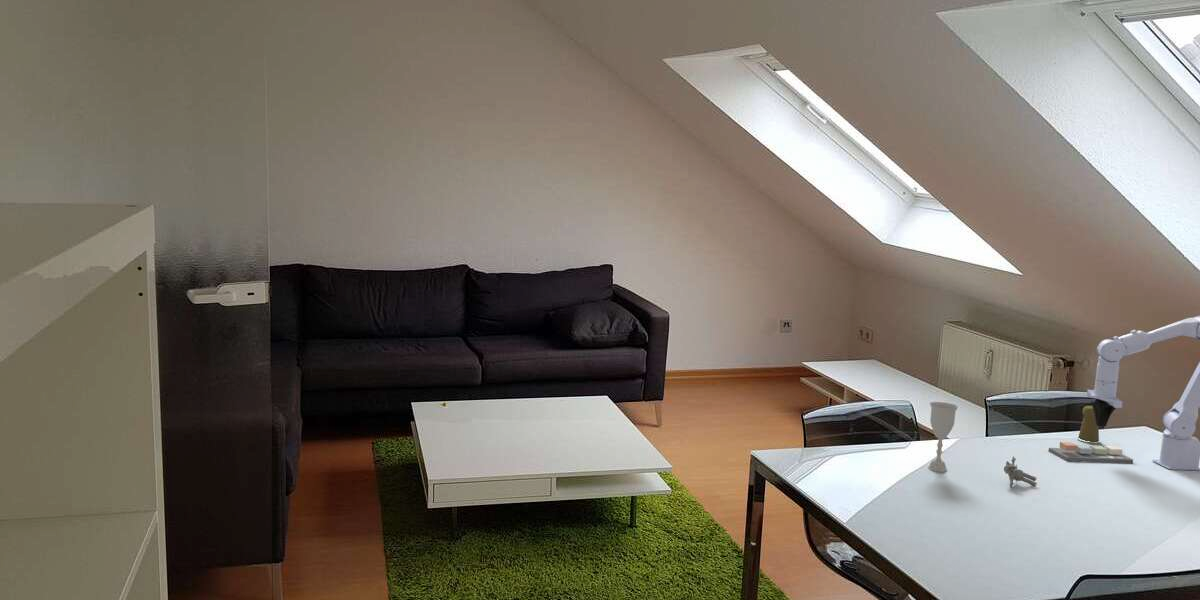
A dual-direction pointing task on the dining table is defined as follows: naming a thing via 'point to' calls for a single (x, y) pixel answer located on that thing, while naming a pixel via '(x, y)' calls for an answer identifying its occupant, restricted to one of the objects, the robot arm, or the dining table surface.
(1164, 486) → the dining table surface
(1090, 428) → the cork
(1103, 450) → the key sage
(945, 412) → the chalice
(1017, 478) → the toy figurine
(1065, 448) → the key terracotta
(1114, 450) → the key cream
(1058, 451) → the keypad base
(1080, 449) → the key blue
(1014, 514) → the dining table surface
